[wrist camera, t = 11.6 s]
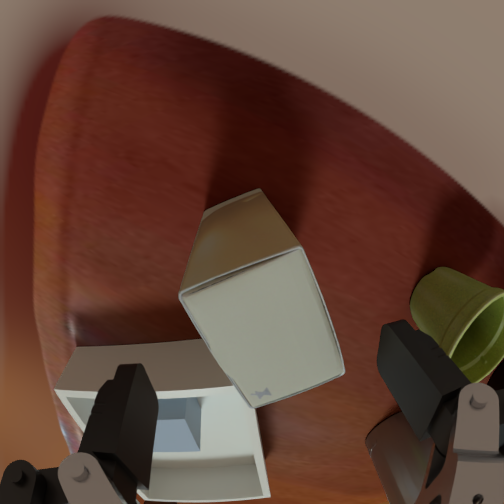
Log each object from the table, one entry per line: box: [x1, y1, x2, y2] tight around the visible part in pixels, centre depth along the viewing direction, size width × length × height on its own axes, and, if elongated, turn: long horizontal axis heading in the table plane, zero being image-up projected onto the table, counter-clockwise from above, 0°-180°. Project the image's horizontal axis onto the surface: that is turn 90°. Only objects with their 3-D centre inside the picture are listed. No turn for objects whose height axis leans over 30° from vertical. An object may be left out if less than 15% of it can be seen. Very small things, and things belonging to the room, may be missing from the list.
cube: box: [153, 397, 201, 452], centre depth 23 cm, size 5×5×5 cm
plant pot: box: [410, 267, 504, 383], centre depth 21 cm, size 9×9×9 cm
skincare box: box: [178, 188, 345, 409], centre depth 16 cm, size 6×4×12 cm
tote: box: [54, 339, 271, 502], centre depth 25 cm, size 16×22×6 cm
